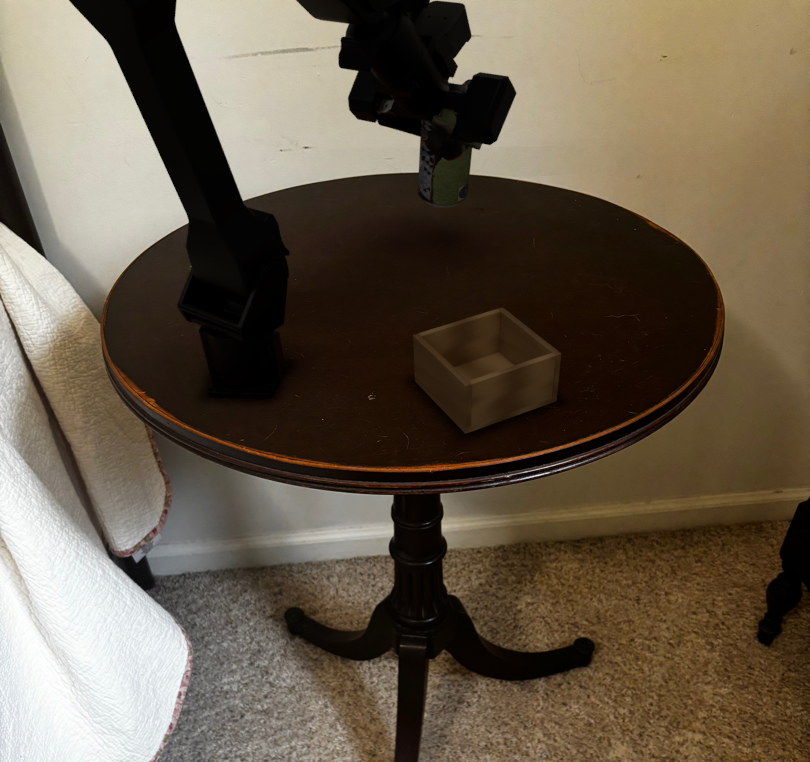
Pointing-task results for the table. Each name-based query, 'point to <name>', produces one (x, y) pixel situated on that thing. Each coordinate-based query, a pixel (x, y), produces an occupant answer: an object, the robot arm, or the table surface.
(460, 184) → the beverage can
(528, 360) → the holder
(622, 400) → the table surface
